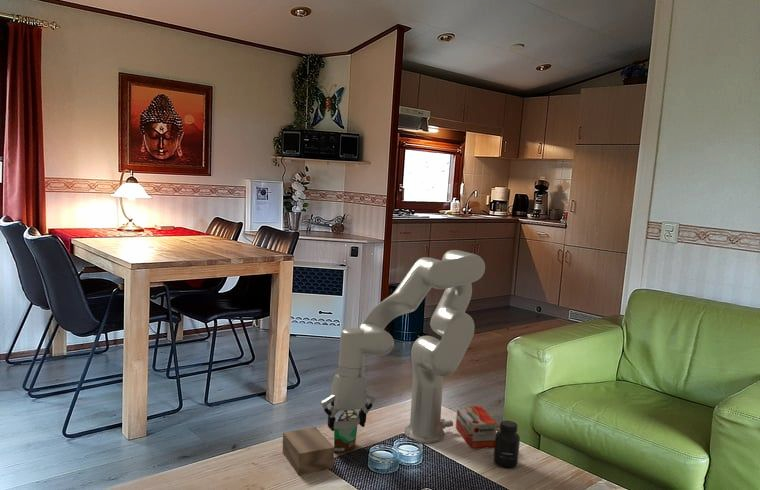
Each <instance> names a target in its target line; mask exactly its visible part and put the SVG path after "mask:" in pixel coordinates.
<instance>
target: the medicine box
mask: <svg viewBox="0 0 760 490" xmlns="http://www.w3.org/2000/svg"><path fill="white" fill-rule="evenodd" d="M455 418H456V420H455V423H456V424H455V430H456V431H457V432H458V434H459V435H460V436H461V437H462V439H463V440H464V442H465V443H466V444H467V446H468V447H469V448H470V449H471V450H474V449H475V450H478V449H479V450H480V449H495V439H496V433H497V424H498V423H497V421H495V420H494V419H493V417H492V416H491V415H489V413H488V412H487V411H486V410H485V409H484V408H483V407H482V406H481V405H468V406H467V405H464V406H463V405H461V406H457V407H456V417H455Z"/></svg>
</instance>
